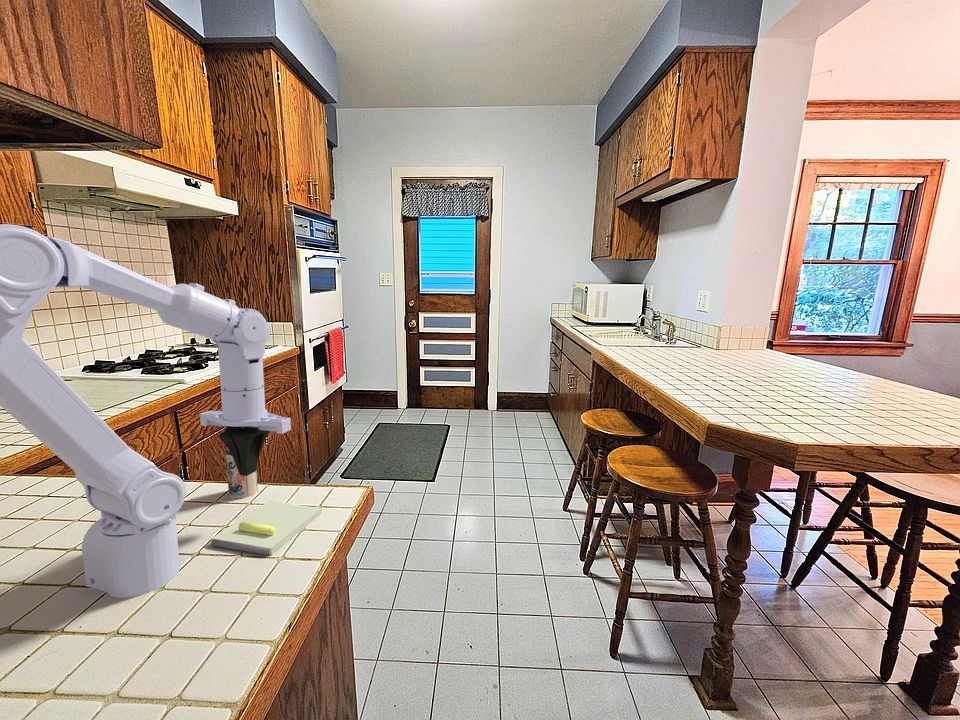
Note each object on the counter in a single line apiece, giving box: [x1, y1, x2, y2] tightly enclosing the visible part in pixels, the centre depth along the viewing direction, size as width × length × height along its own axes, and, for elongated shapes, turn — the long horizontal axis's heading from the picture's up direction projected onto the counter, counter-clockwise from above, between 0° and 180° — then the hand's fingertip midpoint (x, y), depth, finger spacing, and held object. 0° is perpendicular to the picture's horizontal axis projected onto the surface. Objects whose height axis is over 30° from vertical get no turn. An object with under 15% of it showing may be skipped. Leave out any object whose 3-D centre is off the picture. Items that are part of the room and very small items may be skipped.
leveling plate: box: [210, 500, 323, 556], centre depth 65 cm, size 10×12×2 cm
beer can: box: [224, 444, 259, 500], centre depth 76 cm, size 5×5×12 cm
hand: (248, 473), depth 65 cm, fingers closed
